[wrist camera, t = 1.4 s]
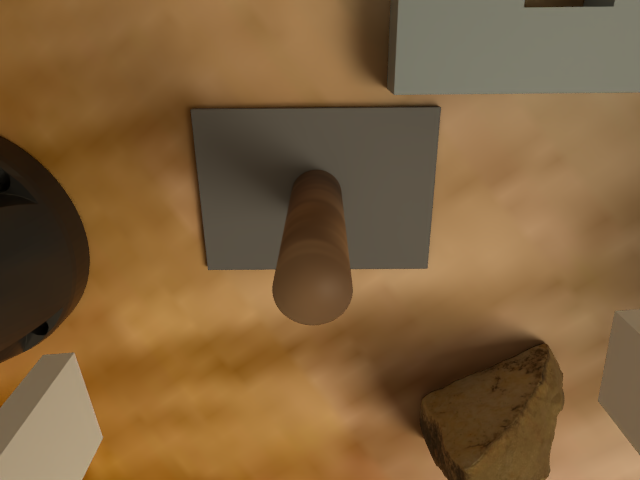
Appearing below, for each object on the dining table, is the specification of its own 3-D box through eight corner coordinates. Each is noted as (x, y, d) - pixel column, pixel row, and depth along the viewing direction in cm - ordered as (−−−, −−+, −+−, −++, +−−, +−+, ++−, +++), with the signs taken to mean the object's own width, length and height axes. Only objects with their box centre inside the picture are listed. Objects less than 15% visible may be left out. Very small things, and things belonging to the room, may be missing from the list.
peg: (292, 217, 30) (274, 325, 19) (290, 169, 29) (270, 254, 18) (341, 217, 30) (351, 325, 19) (341, 169, 29) (353, 254, 18)
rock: (581, 321, 31) (426, 349, 30) (652, 470, 26) (472, 507, 26) (522, 369, 40) (403, 392, 39) (567, 485, 36) (434, 513, 35)
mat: (209, 267, 32) (208, 269, 31) (192, 108, 28) (190, 109, 28) (426, 265, 32) (427, 268, 31) (439, 106, 28) (440, 107, 27)
